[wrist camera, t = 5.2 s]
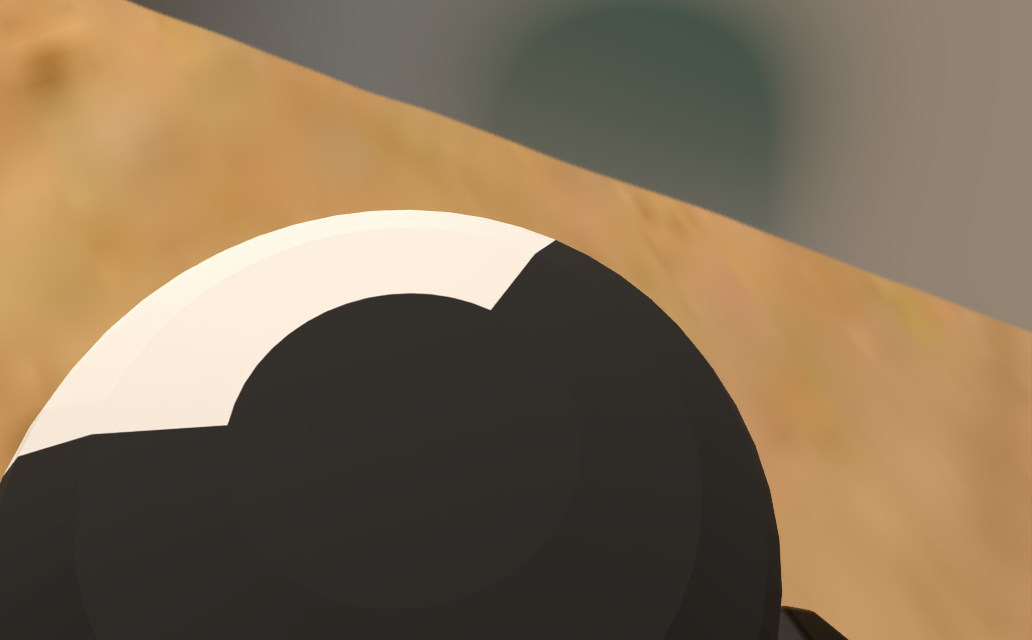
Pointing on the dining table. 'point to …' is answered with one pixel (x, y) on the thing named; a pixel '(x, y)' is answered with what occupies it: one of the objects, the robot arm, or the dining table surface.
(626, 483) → the medicine bottle
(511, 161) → the dining table surface
